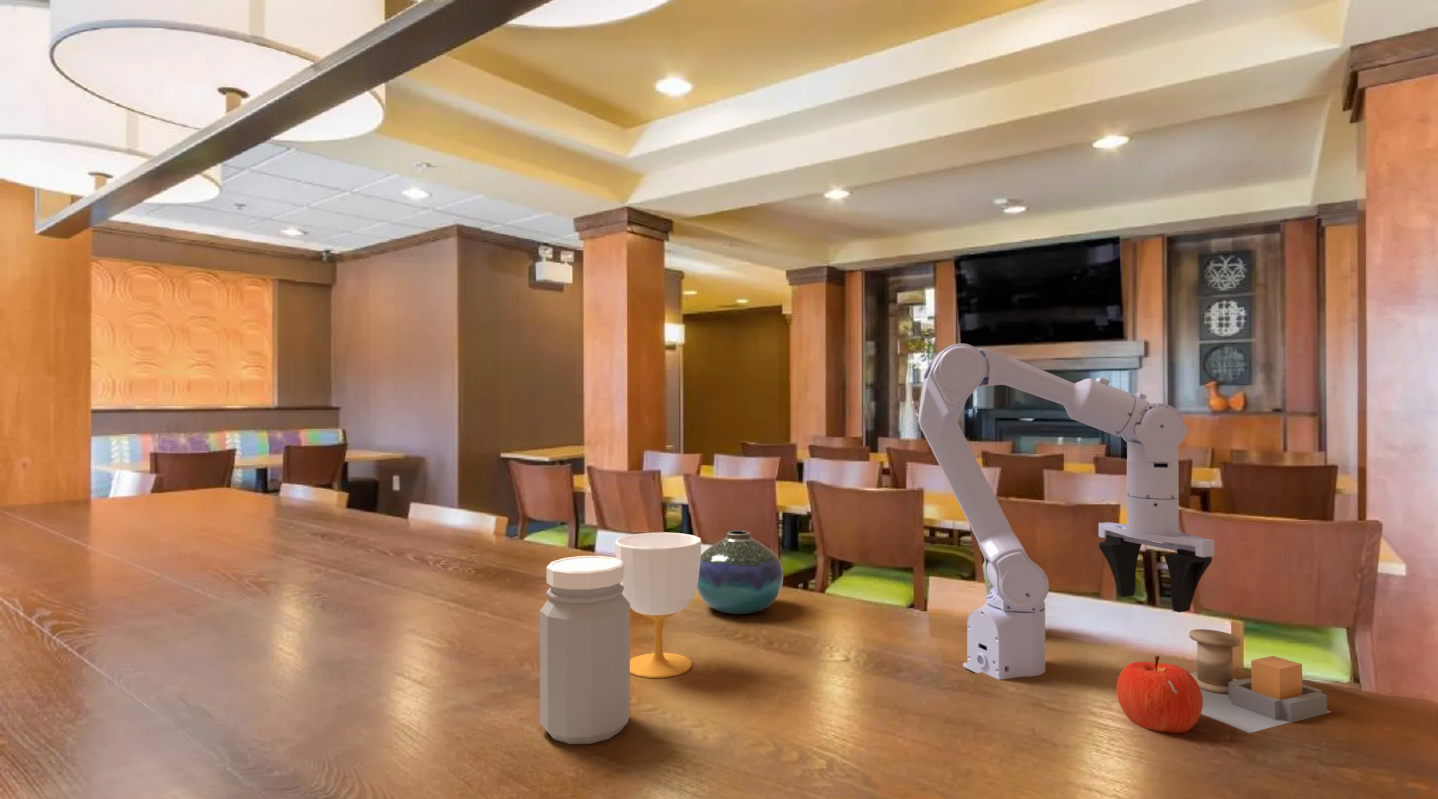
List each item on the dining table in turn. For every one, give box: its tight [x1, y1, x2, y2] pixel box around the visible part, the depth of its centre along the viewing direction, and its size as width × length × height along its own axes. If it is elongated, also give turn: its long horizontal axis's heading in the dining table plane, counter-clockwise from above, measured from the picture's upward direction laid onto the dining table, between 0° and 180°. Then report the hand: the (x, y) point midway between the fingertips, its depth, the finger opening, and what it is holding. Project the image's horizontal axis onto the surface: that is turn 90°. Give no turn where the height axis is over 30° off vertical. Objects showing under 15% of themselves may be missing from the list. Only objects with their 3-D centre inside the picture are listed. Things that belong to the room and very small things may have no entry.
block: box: [1250, 655, 1303, 700], centre depth 83 cm, size 4×3×5 cm
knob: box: [1188, 628, 1242, 695], centre depth 90 cm, size 6×6×6 cm
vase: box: [696, 530, 784, 615], centre depth 126 cm, size 15×15×13 cm
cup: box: [614, 532, 702, 679], centre depth 99 cm, size 12×12×17 cm
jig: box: [1189, 671, 1332, 734], centre depth 86 cm, size 14×14×3 cm
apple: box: [1116, 655, 1203, 734], centre depth 80 cm, size 8×8×8 cm
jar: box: [539, 555, 631, 745], centre depth 80 cm, size 10×10×18 cm
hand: (1152, 603), depth 93 cm, fingers open, 7 cm apart
